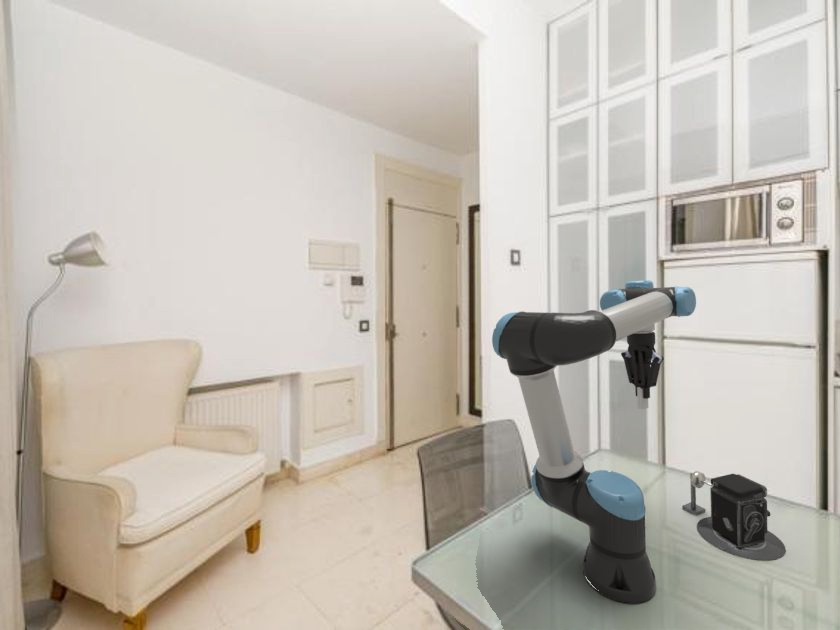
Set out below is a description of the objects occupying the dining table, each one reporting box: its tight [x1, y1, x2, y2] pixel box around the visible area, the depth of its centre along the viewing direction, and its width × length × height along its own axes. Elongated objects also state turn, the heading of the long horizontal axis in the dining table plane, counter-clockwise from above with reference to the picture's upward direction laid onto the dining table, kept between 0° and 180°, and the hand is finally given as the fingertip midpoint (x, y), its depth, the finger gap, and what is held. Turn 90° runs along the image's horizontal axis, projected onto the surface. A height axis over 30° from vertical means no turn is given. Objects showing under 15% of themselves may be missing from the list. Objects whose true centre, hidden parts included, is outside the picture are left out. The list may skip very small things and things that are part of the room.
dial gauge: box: [681, 470, 714, 516], centre depth 114 cm, size 4×8×12 cm, turn 21°
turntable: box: [696, 516, 786, 562], centre depth 103 cm, size 18×18×1 cm
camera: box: [709, 473, 771, 547], centre depth 103 cm, size 10×11×15 cm
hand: (643, 407), depth 121 cm, fingers closed
